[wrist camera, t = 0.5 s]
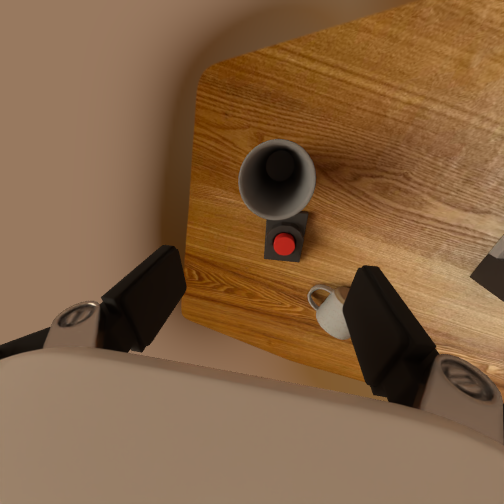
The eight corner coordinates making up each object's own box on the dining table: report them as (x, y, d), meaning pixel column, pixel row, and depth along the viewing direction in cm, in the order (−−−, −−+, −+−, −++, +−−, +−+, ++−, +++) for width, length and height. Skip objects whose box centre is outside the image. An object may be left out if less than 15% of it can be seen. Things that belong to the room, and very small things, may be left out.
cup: (289, 130, 26) (293, 118, 14) (309, 173, 29) (328, 197, 16) (250, 158, 29) (223, 171, 16) (272, 196, 31) (263, 232, 19)
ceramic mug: (365, 290, 38) (380, 320, 32) (344, 314, 43) (354, 345, 36) (316, 274, 38) (322, 301, 32) (301, 300, 43) (303, 328, 36)
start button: (275, 231, 32) (274, 236, 30) (295, 233, 31) (296, 238, 30) (273, 249, 34) (272, 254, 32) (293, 251, 33) (293, 256, 32)
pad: (267, 208, 33) (266, 214, 30) (307, 211, 32) (309, 217, 29) (264, 255, 38) (262, 263, 35) (298, 259, 37) (299, 267, 34)
